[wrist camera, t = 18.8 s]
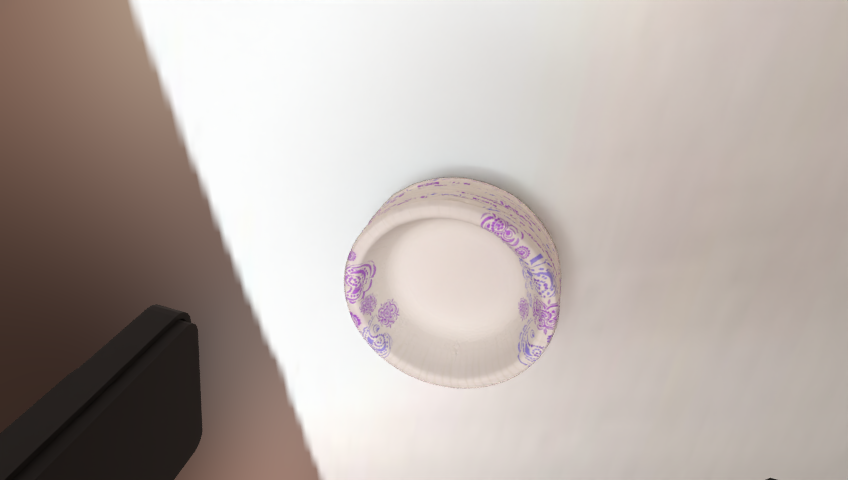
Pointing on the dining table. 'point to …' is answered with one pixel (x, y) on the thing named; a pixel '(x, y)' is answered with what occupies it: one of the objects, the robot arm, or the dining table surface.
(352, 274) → the paper bowls
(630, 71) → the dining table surface
